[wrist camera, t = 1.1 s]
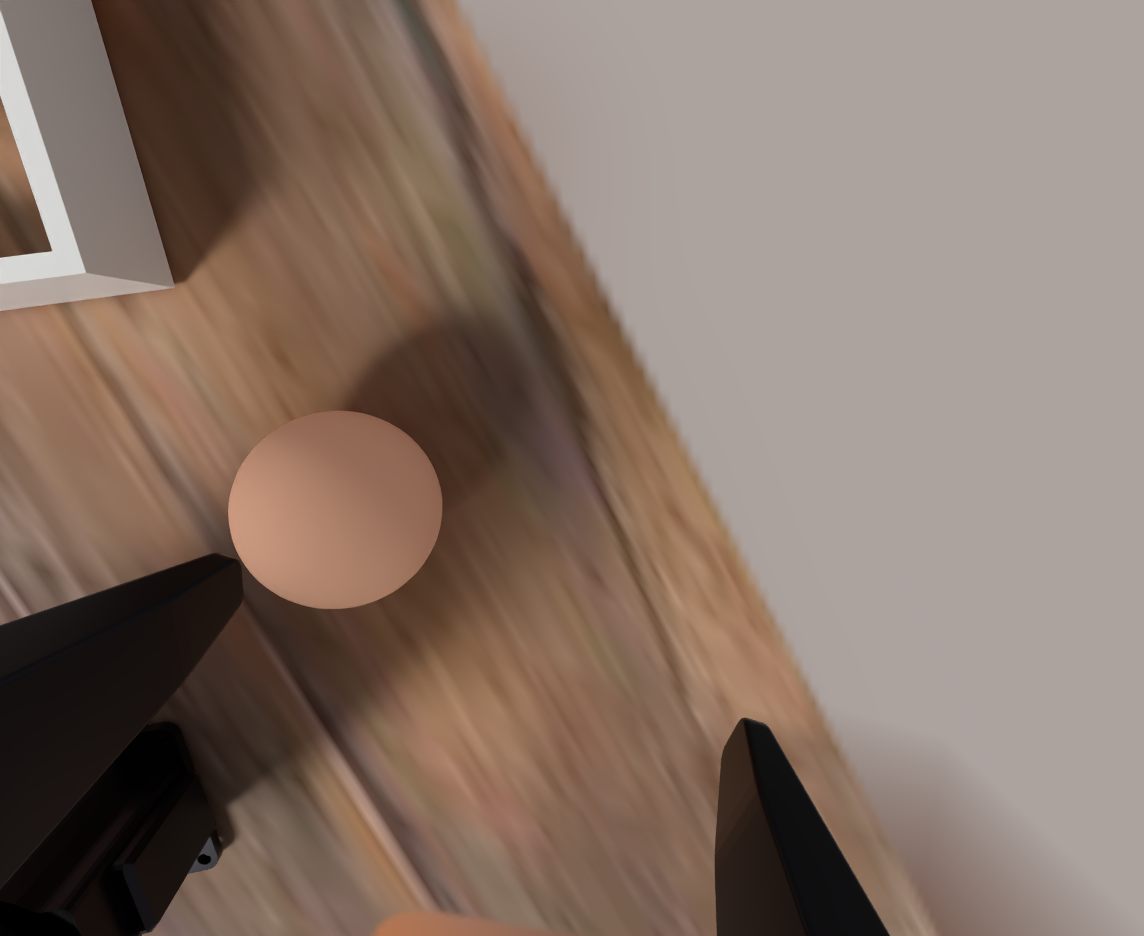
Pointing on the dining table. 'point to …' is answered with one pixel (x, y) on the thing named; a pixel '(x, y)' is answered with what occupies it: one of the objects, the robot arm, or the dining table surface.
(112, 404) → the dining table surface
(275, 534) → the ball
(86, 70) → the walled pen
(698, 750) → the dining table surface
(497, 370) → the dining table surface
